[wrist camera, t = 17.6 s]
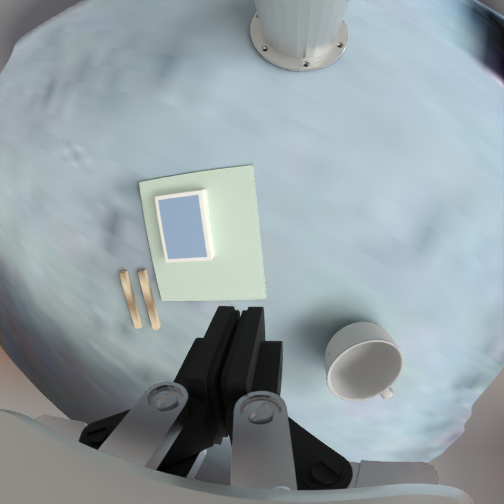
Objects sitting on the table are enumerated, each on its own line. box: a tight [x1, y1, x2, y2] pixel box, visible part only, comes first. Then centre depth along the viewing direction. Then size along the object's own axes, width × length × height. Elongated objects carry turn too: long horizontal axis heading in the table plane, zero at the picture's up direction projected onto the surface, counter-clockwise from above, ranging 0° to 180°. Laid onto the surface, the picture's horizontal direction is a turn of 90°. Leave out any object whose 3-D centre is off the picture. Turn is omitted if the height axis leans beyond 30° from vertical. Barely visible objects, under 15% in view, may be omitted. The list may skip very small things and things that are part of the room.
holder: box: [119, 270, 161, 330], centre depth 42 cm, size 10×5×1 cm, turn 6°
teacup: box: [325, 322, 403, 401], centre depth 36 cm, size 14×11×8 cm
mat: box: [139, 165, 267, 301], centre depth 38 cm, size 18×16×1 cm
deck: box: [155, 189, 215, 263], centre depth 36 cm, size 9×2×6 cm
